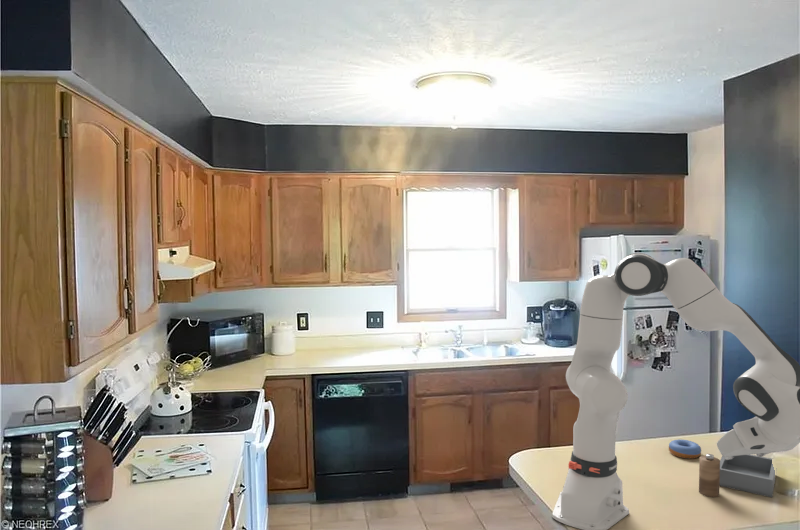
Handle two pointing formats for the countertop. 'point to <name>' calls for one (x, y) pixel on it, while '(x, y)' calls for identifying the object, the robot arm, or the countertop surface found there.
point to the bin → (748, 474)
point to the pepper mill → (709, 475)
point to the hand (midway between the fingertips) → (742, 455)
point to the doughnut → (685, 449)
